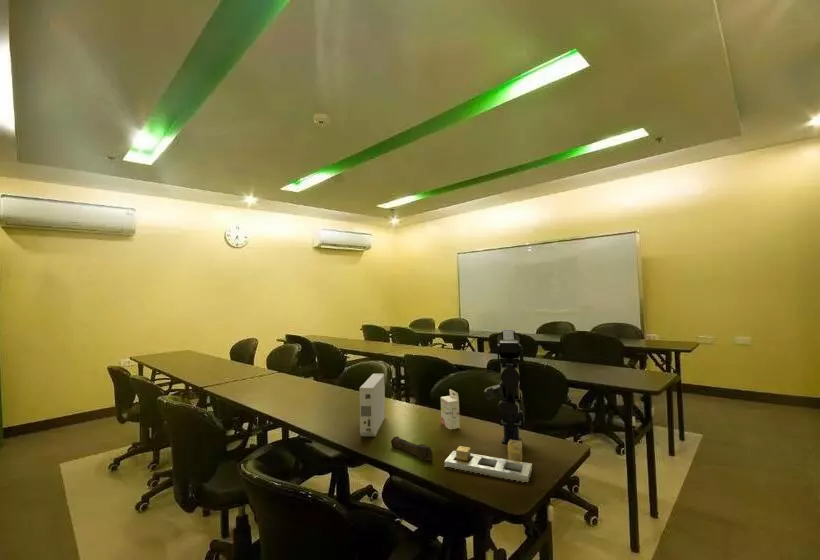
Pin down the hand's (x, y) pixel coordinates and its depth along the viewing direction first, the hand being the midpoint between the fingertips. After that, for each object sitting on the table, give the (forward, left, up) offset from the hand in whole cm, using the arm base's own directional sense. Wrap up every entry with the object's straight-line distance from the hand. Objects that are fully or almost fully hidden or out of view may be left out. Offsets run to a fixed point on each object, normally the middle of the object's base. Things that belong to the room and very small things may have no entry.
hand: (511, 425), depth 123 cm
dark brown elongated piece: (+7, -33, -12) cm, 36 cm away
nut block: (-1, +1, -12) cm, 12 cm away
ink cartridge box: (-24, -30, -12) cm, 41 cm away
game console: (-11, -60, -12) cm, 63 cm away
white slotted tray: (+8, -6, -12) cm, 16 cm away
